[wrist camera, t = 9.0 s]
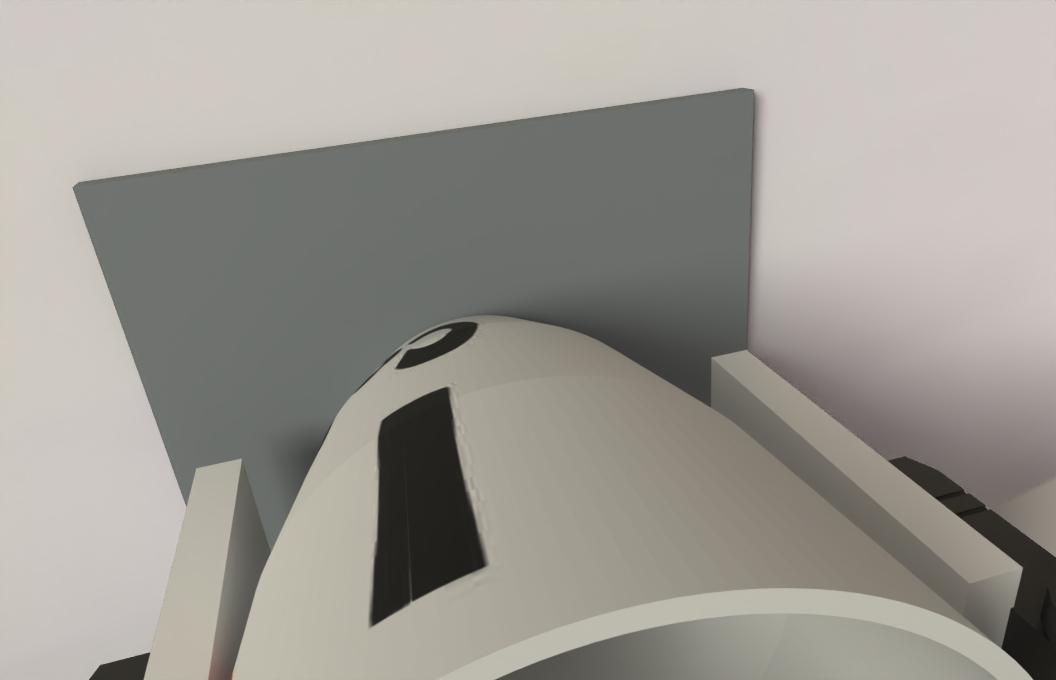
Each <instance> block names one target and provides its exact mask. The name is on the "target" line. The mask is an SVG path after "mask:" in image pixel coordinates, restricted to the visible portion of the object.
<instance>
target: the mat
mask: <svg viewBox="0 0 1056 680" xmlns="http://www.w3.org/2000/svg"><path fill="white" fill-rule="evenodd" d="M753 111H754V90H752V89H747V88H739V89H732V90H725V91H718V92H711V93H704V94H697V95H690V96H683V97H676V98H669V99H662V100H655V101H647V102H640V103H633V104H626V105H619V106H612V107H605V108H598V109H591V110H584V111H577V112H570V113H563V114H556V115H549V116H542V117H535V118H528V119H521V120H514V121H507V122H500V123H493V124H486V125H479V126H472V127H464V128H457V129H450V130H443V131H436V132H429V133H422V134H415V135H408V136H401V137H394V138H387V139H380V140H373V141H366V142H359V143H352V144H345V145H338V146H331V147H324V148H317V149H310V150H303V151H296V152H289V153H281V154H274V155H267V156H260V157H253V158H246V159H239V160H232V161H225V162H218V163H211V164H204V165H197V166H190V167H183V168H176V169H169V170H162V171H155V172H148V173H141V174H134V175H127V176H120V177H113V178H106V179H99V180H91V181H84V182H79V183H78V184H76V185H75V186H74V187H72V188H73V190H74V193H75V196H76V199H77V202H78V204H79V207H80V210H81V213H82V216H83V218H84V221H85V224H86V227H87V230H88V232H89V235H90V238H91V241H92V244H93V246H94V249H95V252H96V255H97V258H98V260H99V263H100V266H101V269H102V272H103V274H104V277H105V280H106V283H107V286H108V288H109V291H110V294H111V297H112V300H113V302H114V305H115V308H116V311H117V314H118V316H119V319H120V322H121V325H122V328H123V330H124V333H125V336H126V339H127V342H128V344H129V347H130V350H131V353H132V356H133V358H134V361H135V364H136V367H137V370H138V372H139V375H140V378H141V381H142V384H143V386H144V389H145V392H146V395H147V398H148V400H149V403H150V406H151V409H152V412H153V414H154V417H155V420H156V423H157V426H158V428H159V431H160V434H161V437H162V440H163V442H164V445H165V448H166V451H167V454H168V456H169V459H170V462H171V465H172V468H173V470H174V473H175V476H176V479H177V482H178V484H179V487H180V490H181V493H182V496H183V498H184V501H185V504H186V507H187V504H188V500H189V496H190V492H191V488H192V484H193V480H194V476H195V472H196V468H200V467H205V466H210V465H214V464H219V463H224V462H228V461H233V460H238V459H242V460H243V463H244V467H245V470H246V473H247V476H248V480H249V483H250V486H251V489H252V493H253V496H254V499H255V502H256V506H257V509H258V512H259V515H260V519H261V522H262V525H263V528H264V532H265V535H266V538H267V541H268V545H269V548H270V551H271V552H272V550H273V547H274V545H275V543H276V541H277V539H278V537H279V534H280V532H281V530H282V528H283V526H284V524H285V521H286V519H287V517H288V515H289V513H290V511H291V508H292V506H293V504H294V502H295V500H296V498H297V495H298V493H299V491H300V489H301V487H302V485H303V482H304V480H305V478H306V476H307V474H308V472H309V469H310V467H311V465H312V463H313V461H314V459H315V456H316V454H317V452H318V450H319V448H320V446H321V443H322V441H323V439H324V437H325V435H326V433H327V431H328V429H329V427H330V425H331V424H332V422H333V420H334V419H335V417H336V416H337V414H338V413H339V411H340V410H341V408H342V407H343V406H344V404H345V403H346V402H347V401H348V399H349V398H350V397H351V396H352V395H353V394H354V392H355V391H356V390H357V389H358V388H359V387H360V386H361V385H362V384H363V383H364V382H365V381H366V380H367V379H368V378H369V377H370V376H371V375H372V374H373V373H374V372H375V371H376V370H377V369H378V368H379V367H380V365H381V364H382V363H383V362H384V361H385V360H386V359H387V358H388V357H389V356H390V355H391V354H392V353H393V352H394V351H395V350H397V349H398V348H399V347H400V346H401V345H403V344H404V343H405V342H407V341H408V340H409V339H411V338H412V337H414V336H416V335H417V334H419V333H421V332H423V331H425V330H426V329H429V328H431V327H433V326H435V325H438V324H441V323H443V322H446V321H450V320H453V319H457V318H462V317H468V316H477V315H499V316H508V317H514V318H519V319H523V320H528V321H533V322H538V323H543V324H548V325H553V326H558V327H562V328H566V329H570V330H573V331H576V332H579V333H582V334H584V335H587V336H589V337H592V338H594V339H596V340H598V341H600V342H602V343H604V344H606V345H607V346H609V347H611V348H612V349H614V350H616V351H617V352H619V353H621V354H622V355H624V356H626V357H627V358H629V359H631V360H632V361H634V362H636V363H637V364H639V365H641V366H642V367H644V368H646V369H647V370H649V371H651V372H652V373H654V374H656V375H657V376H659V377H661V378H662V379H664V380H666V381H667V382H669V383H671V384H672V385H674V386H676V387H677V388H679V389H681V390H682V391H684V392H686V393H687V394H689V395H691V396H692V397H694V398H696V399H697V400H699V401H701V402H702V403H704V404H706V405H707V406H709V407H711V357H716V356H721V355H725V354H730V353H734V352H739V351H744V350H746V348H747V314H748V280H749V246H750V212H751V178H752V145H753Z"/></svg>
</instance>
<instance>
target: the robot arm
mask: <svg viewBox="0 0 1056 680" xmlns="http://www.w3.org/2000/svg"><path fill="white" fill-rule="evenodd" d="M711 408H712V409H714V410H715V411H717V412H719V413H720V414H722V415H723V416H725V417H726V418H728V419H729V420H731V421H732V422H733V423H735V424H736V425H737V426H739V427H740V428H741V429H742V430H744V431H745V432H746V433H747V434H748V435H749V436H751V437H752V438H753V439H754V440H755V441H757V442H758V443H759V444H760V445H761V446H762V447H764V448H765V449H766V450H767V451H768V452H770V453H771V454H772V455H773V456H774V457H775V458H777V459H778V460H779V461H780V462H781V463H783V464H784V465H785V466H786V467H787V468H788V469H790V470H791V471H792V472H793V473H794V474H796V475H797V476H798V477H799V478H800V479H801V480H803V481H804V482H805V483H806V484H807V485H808V486H810V487H811V488H812V489H813V490H814V491H816V492H817V493H818V494H819V495H820V496H821V497H823V498H824V499H825V500H826V501H827V502H829V503H830V504H831V505H832V506H833V507H834V508H836V509H837V510H838V511H839V512H840V513H842V514H843V515H844V516H845V517H846V518H847V519H849V520H850V521H851V522H852V523H853V524H855V525H856V526H857V527H858V528H859V529H860V530H862V531H863V532H864V533H865V534H866V535H868V536H869V537H870V538H871V539H872V540H873V541H875V542H876V543H877V544H878V545H879V546H881V547H882V548H883V549H884V550H885V551H886V552H888V553H889V554H890V555H891V556H892V557H894V558H895V559H896V560H897V561H898V562H899V563H901V564H902V565H903V566H904V567H905V568H907V569H908V570H909V571H910V572H911V573H912V574H914V575H915V576H916V577H917V578H918V579H920V580H921V581H922V582H923V583H924V584H925V585H927V586H928V587H929V588H930V589H931V590H933V591H934V592H935V593H936V594H937V595H938V596H940V597H941V598H942V599H943V600H944V601H946V602H947V603H948V604H949V605H950V606H951V607H953V608H954V609H955V610H956V611H957V612H959V613H960V614H961V615H962V616H963V617H964V618H966V619H967V620H968V621H969V622H970V623H972V624H973V625H974V626H975V627H976V628H977V629H979V630H980V631H981V632H982V633H983V634H985V635H986V636H987V637H988V638H989V639H990V640H992V641H993V642H994V643H995V644H996V645H998V646H999V647H1000V648H1001V649H1002V650H1003V651H1005V652H1006V653H1007V654H1008V655H1009V656H1010V657H1012V658H1013V659H1014V660H1015V661H1016V662H1017V663H1018V664H1019V665H1020V666H1021V667H1022V668H1023V669H1024V670H1025V671H1026V672H1027V673H1028V674H1029V675H1030V677H1031V678H1032V679H1033V680H1056V557H1054V556H1053V555H1052V554H1050V553H1049V552H1048V551H1046V550H1045V549H1043V548H1042V547H1041V546H1040V545H1038V544H1037V543H1035V542H1034V541H1033V540H1031V539H1030V538H1029V537H1027V536H1026V535H1025V534H1023V533H1022V532H1020V531H1019V530H1018V529H1017V528H1015V527H1014V526H1012V525H1011V524H1010V523H1008V522H1007V521H1006V520H1004V519H1003V518H1002V517H1000V516H999V515H998V514H996V513H995V512H994V511H992V510H991V509H990V510H987V509H986V508H985V505H984V504H983V503H981V502H980V501H979V500H977V499H976V498H975V497H973V496H972V495H971V494H965V492H964V489H962V488H961V487H960V486H958V485H957V484H956V483H954V482H953V481H952V480H950V479H949V478H948V477H946V476H945V475H943V474H942V473H941V472H939V471H938V470H936V469H933V468H931V467H929V466H926V465H924V464H921V463H919V462H917V461H914V460H912V459H910V458H907V457H901V458H897V459H893V460H889V461H887V460H886V459H884V458H883V457H882V456H881V455H879V454H878V453H877V452H875V451H874V450H873V449H872V448H870V447H869V446H868V445H867V444H865V443H864V442H863V441H862V440H860V439H859V438H858V437H856V436H855V435H854V434H853V433H851V432H850V431H849V430H848V429H846V428H845V427H844V426H842V425H841V424H840V423H839V422H837V421H836V420H835V419H834V418H832V417H831V416H830V415H829V414H827V413H826V412H825V411H823V410H822V409H821V408H820V407H818V406H817V405H816V404H815V403H813V402H812V401H811V400H809V399H808V398H807V397H806V396H804V395H803V394H802V393H801V392H799V391H798V390H797V389H796V388H794V387H793V386H792V385H790V384H789V383H788V382H787V381H785V380H784V379H783V378H782V377H780V376H779V375H778V374H776V373H775V372H774V371H773V370H771V369H770V368H769V367H768V366H766V365H765V364H764V363H763V362H761V361H760V360H759V359H757V358H756V357H755V356H754V355H752V354H751V353H750V352H749V351H747V350H744V351H739V352H734V353H730V354H725V355H721V356H716V357H711ZM270 554H271V551H270V548H269V545H268V541H267V538H266V535H265V532H264V528H263V525H262V522H261V519H260V515H259V512H258V509H257V506H256V502H255V499H254V496H253V493H252V489H251V486H250V483H249V480H248V476H247V473H246V470H245V467H244V463H243V460H242V459H238V460H233V461H228V462H224V463H219V464H214V465H210V466H205V467H200V468H196V472H195V476H194V480H193V484H192V488H191V492H190V496H189V500H188V504H187V508H186V512H185V516H184V520H183V524H182V528H181V532H180V536H179V540H178V544H177V548H176V552H175V556H174V560H173V564H172V568H171V572H170V576H169V580H168V584H167V588H166V592H165V596H164V600H163V604H162V608H161V612H160V616H159V620H158V624H157V628H156V632H155V636H154V640H153V644H152V648H151V652H150V653H146V654H142V655H138V656H134V657H130V658H126V659H122V660H119V661H115V662H111V663H107V664H103V665H100V666H99V667H98V669H97V670H96V671H95V673H94V674H93V675H92V677H91V678H90V679H89V680H231V677H232V674H233V670H234V667H235V663H236V660H237V656H238V652H239V649H240V645H241V642H242V638H243V635H244V631H245V628H246V624H247V620H248V617H249V613H250V610H251V606H252V603H253V599H254V596H255V592H256V589H257V586H258V583H259V580H260V577H261V574H262V572H263V570H264V567H265V565H266V563H267V560H268V558H269V556H270Z"/></svg>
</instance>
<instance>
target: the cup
mask: <svg viewBox="0 0 1056 680" xmlns="http://www.w3.org/2000/svg"><path fill="white" fill-rule="evenodd" d="M231 680H1033V679H1032V678H1031V677H1030V675H1029V674H1028V673H1027V672H1026V671H1025V670H1024V669H1023V668H1022V667H1021V666H1020V665H1019V664H1018V663H1017V662H1016V661H1015V660H1014V659H1013V658H1012V657H1010V656H1009V655H1008V654H1007V653H1006V652H1005V651H1003V650H1002V649H1001V648H1000V647H999V646H998V645H996V644H995V643H994V642H993V641H992V640H990V639H989V638H988V637H987V636H986V635H985V634H983V633H982V632H981V631H980V630H979V629H977V628H976V627H975V626H974V625H973V624H972V623H970V622H969V621H968V620H967V619H966V618H964V617H963V616H962V615H961V614H960V613H959V612H957V611H956V610H955V609H954V608H953V607H951V606H950V605H949V604H948V603H947V602H946V601H944V600H943V599H942V598H941V597H940V596H938V595H937V594H936V593H935V592H934V591H933V590H931V589H930V588H929V587H928V586H927V585H925V584H924V583H923V582H922V581H921V580H920V579H918V578H917V577H916V576H915V575H914V574H912V573H911V572H910V571H909V570H908V569H907V568H905V567H904V566H903V565H902V564H901V563H899V562H898V561H897V560H896V559H895V558H894V557H892V556H891V555H890V554H889V553H888V552H886V551H885V550H884V549H883V548H882V547H881V546H879V545H878V544H877V543H876V542H875V541H873V540H872V539H871V538H870V537H869V536H868V535H866V534H865V533H864V532H863V531H862V530H860V529H859V528H858V527H857V526H856V525H855V524H853V523H852V522H851V521H850V520H849V519H847V518H846V517H845V516H844V515H843V514H842V513H840V512H839V511H838V510H837V509H836V508H834V507H833V506H832V505H831V504H830V503H829V502H827V501H826V500H825V499H824V498H823V497H821V496H820V495H819V494H818V493H817V492H816V491H814V490H813V489H812V488H811V487H810V486H808V485H807V484H806V483H805V482H804V481H803V480H801V479H800V478H799V477H798V476H797V475H796V474H794V473H793V472H792V471H791V470H790V469H788V468H787V467H786V466H785V465H784V464H783V463H781V462H780V461H779V460H778V459H777V458H775V457H774V456H773V455H772V454H771V453H770V452H768V451H767V450H766V449H765V448H764V447H762V446H761V445H760V444H759V443H758V442H757V441H755V440H754V439H753V438H752V437H751V436H749V435H748V434H747V433H746V432H745V431H744V430H742V429H741V428H740V427H739V426H737V425H736V424H735V423H733V422H732V421H731V420H729V419H728V418H726V417H725V416H723V415H722V414H720V413H719V412H717V411H715V410H714V409H712V408H711V407H709V406H707V405H706V404H704V403H702V402H701V401H699V400H697V399H696V398H694V397H692V396H691V395H689V394H687V393H686V392H684V391H682V390H681V389H679V388H677V387H676V386H674V385H672V384H671V383H669V382H667V381H666V380H664V379H662V378H661V377H659V376H657V375H656V374H654V373H652V372H651V371H649V370H647V369H646V368H644V367H642V366H641V365H639V364H637V363H636V362H634V361H632V360H631V359H629V358H627V357H626V356H624V355H622V354H621V353H619V352H617V351H616V350H614V349H612V348H611V347H609V346H607V345H606V344H604V343H602V342H600V341H598V340H596V339H594V338H592V337H589V336H587V335H584V334H582V333H579V332H576V331H573V330H570V329H566V328H562V327H558V326H553V325H548V324H543V323H538V322H533V321H528V320H523V319H519V318H514V317H508V316H499V315H477V316H468V317H462V318H457V319H453V320H450V321H446V322H443V323H441V324H438V325H435V326H433V327H431V328H429V329H426V330H425V331H423V332H421V333H419V334H417V335H416V336H414V337H412V338H411V339H409V340H408V341H407V342H405V343H404V344H403V345H401V346H400V347H399V348H398V349H397V350H395V351H394V352H393V353H392V354H391V355H390V356H389V357H388V358H387V359H386V360H385V361H384V362H383V363H382V364H381V365H380V367H379V368H378V369H377V370H376V371H375V372H374V373H373V374H372V375H371V376H370V377H369V378H368V379H367V380H366V381H365V382H364V383H363V384H362V385H361V386H360V387H359V388H358V389H357V390H356V391H355V392H354V394H353V395H352V396H351V397H350V398H349V399H348V401H347V402H346V403H345V404H344V406H343V407H342V408H341V410H340V411H339V413H338V414H337V416H336V417H335V419H334V420H333V422H332V424H331V425H330V427H329V429H328V431H327V433H326V435H325V437H324V439H323V441H322V443H321V446H320V448H319V450H318V452H317V454H316V456H315V459H314V461H313V463H312V465H311V467H310V469H309V472H308V474H307V476H306V478H305V480H304V482H303V485H302V487H301V489H300V491H299V493H298V495H297V498H296V500H295V502H294V504H293V506H292V508H291V511H290V513H289V515H288V517H287V519H286V521H285V524H284V526H283V528H282V530H281V532H280V534H279V537H278V539H277V541H276V543H275V545H274V547H273V550H272V552H271V554H270V556H269V558H268V560H267V563H266V565H265V567H264V570H263V572H262V574H261V577H260V580H259V583H258V586H257V589H256V592H255V596H254V599H253V603H252V606H251V610H250V613H249V617H248V620H247V624H246V628H245V631H244V635H243V638H242V642H241V645H240V649H239V652H238V656H237V660H236V663H235V667H234V670H233V674H232V677H231Z"/></svg>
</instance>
